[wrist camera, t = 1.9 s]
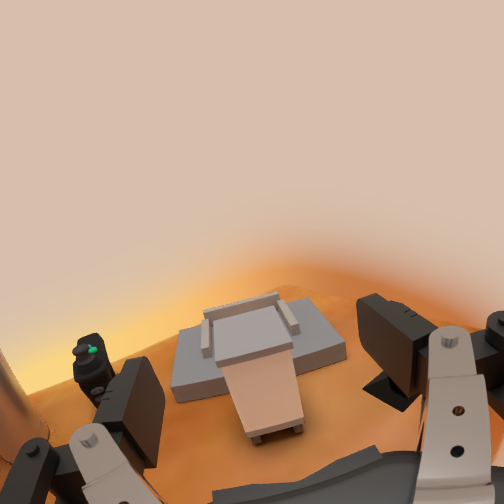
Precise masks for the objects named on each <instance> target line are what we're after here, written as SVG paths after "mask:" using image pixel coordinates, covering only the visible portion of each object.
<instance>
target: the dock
mask: <svg viewBox="0 0 504 504" xmlns="http://www.w3.org/2000/svg"><path fill="white" fill-rule="evenodd" d="M273 305H274V307H275V309H276V311H277V313H278V315H279V317H280V319H281V320H282V322H283V324H284V326H285V328H286V330H287V332H288V334H289V336H290V338H291V340H292V342H293V347H294V348H293V349H291V354H292V359H293V364H294V369H295V374H296V375H300V374H303V373H306V372H309V371H312V370H315V369H318V368H321V367H324V366H327V365H330V364H333V363H336V362H339V361H342V360H344V359H347V358H346V345H345V341H344V339H343V338H342V337H341V336H340V335H339V333H338V332H337V331H336V330H335V329H334V328H333V326H332V325H331V324H330V323H329V322H328V320H327V319H326V318H325V317H324V316H323V314H322V313H321V312H320V311H319V310H318V308H317V307H316V306H315V305H314V304H313V303H312V301H311V300H310V299H309V298H308V297H306V298H303V299H299V300H296V301H292V302H289V303H285V301H284V299H282V300H280V298H279V294H278V292H277V291H276V292H273V293H269V294H265V295H261V296H258V297H254V298H250V299H247V300H242V301H238V302H235V303H231V304H227V305H223V306H219V307H215V308H211V309H207V310H204V311H203V314H204V317H205V319H204V320H202V325H200V326H196V327H192V328H187V329H183V330H180V331H179V336H178V342H177V348H176V354H175V360H174V366H173V372H172V379H171V385H170V388H171V390H172V392H173V394H174V396H175V398H176V400H177V402H178V403H182V402H188V401H193V400H199V399H204V398H209V397H214V396H219V395H223V394H228V393H230V391H229V389H228V386H227V383H226V380H225V378H224V375H223V372H222V369H221V368H217V365H216V362H215V348H214V326H213V321H215V320H219V319H223V318H227V317H231V316H235V315H239V314H243V313H247V312H250V311H254V310H258V309H262V308H265V307H269V306H273Z"/></svg>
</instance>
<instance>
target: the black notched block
mask: <svg viewBox="0 0 504 504" xmlns="http://www.w3.org/2000/svg"><path fill="white" fill-rule="evenodd" d="M363 390H364V391H366V392H368V393H369V394H371V395H373V396H374V397H376V398H378V399H380V400H381V401H383V402H385V403H387V404H388V405H390V406H392V407H394V408H395V409H397V410H399V411H401V412H404V411H405V410H406V409H407V408H408V407H409V406H410V405H411V404H412V403H413V402H414V400H415V399H416V398H417V397H418V396H419V395H420V394H421V393H420V392H419V393H417V394H415V395H413V396H411V397H409V398H408V397H407V396H406V395H405V394H404V392H403V391H402V390H401V389H400V388H399V387H398V386H397V385H396V384H395V382H394V381H393V380H392V379H391V378H390V377H389V376H388V375H387V374H386V372H385V371H383V372H382V373H380V374H379V375H378V376H377V377H376V378H374V379H373V380H372V381H371V382H370V383H368V384H367V385H366V386H365V387H364V388H363Z"/></svg>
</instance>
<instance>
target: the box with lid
mask: <svg viewBox="0 0 504 504" xmlns="http://www.w3.org/2000/svg"><path fill="white" fill-rule="evenodd" d="M213 326H214V348H215V362H216V365H217V368H221V369H222V372H223V375H224V378H225V380H226V383H227V386H228V389H229V391H230V394H231V397H232V399H233V402H234V404H235V407H236V410H237V412H238V415H239V417H240V420H241V422H242V425H243V427H244V430H245V432H246V435H247V437H248V438H250V437H251V439H252V442H253V444H258V443H262V441H261V437H260V435H263V434H267V433H271V432H275V431H278V430H282V429H286V428H289V427H293V429H294V431H295V433H299V432H302V431H303V427H302V424H303V423H305V421H304V415H303V410H302V405H301V400H300V394H299V389H298V384H297V379H296V374H295V369H294V364H293V359H292V354H291V349H293V348H294V347H293V342H292V340H291V338H290V336H289V334H288V332H287V330H286V328H285V326H284V324H283V322H282V320H281V319H280V317H279V315H278V313H277V311H276V309H275V307H274V305H273V306H269V307H265V308H262V309H258V310H254V311H250V312H247V313H243V314H239V315H235V316H231V317H227V318H223V319H219V320H215V321H213Z"/></svg>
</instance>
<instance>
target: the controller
mask: <svg viewBox="0 0 504 504" xmlns="http://www.w3.org/2000/svg"><path fill="white" fill-rule="evenodd" d="M72 353H73V355H75V356H76V361H75V362H74V363H73V373H74V380H75V381H76V382H77V383H79V386H80V388H81V390H82V391H83V392H84V394H85V395H86V396H87V397H88V398H89V399H90V400H91V402H92V403H93V404H94V406H95V407H96V408H97V409H98V407H99V405H100V403H101V401H103V400H102V398H103V396H104V393H106V392H105V391H106V389H107V386H108V384H109V382H110V381H111V380H112V379H113V378H114V377H115V376H116V374H115V372H114V370H113V368H112V366H111V364H110V362H109V359H108V356H107V352H106V348H105V344H104V340H103V339H102V337H101V336H100V335H99V334H98V333H93V334H90V335H87V336H85V337H82V338H80V339H79V340H78V342H77V346H76V347H75V348H74V349H73V351H72Z"/></svg>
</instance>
